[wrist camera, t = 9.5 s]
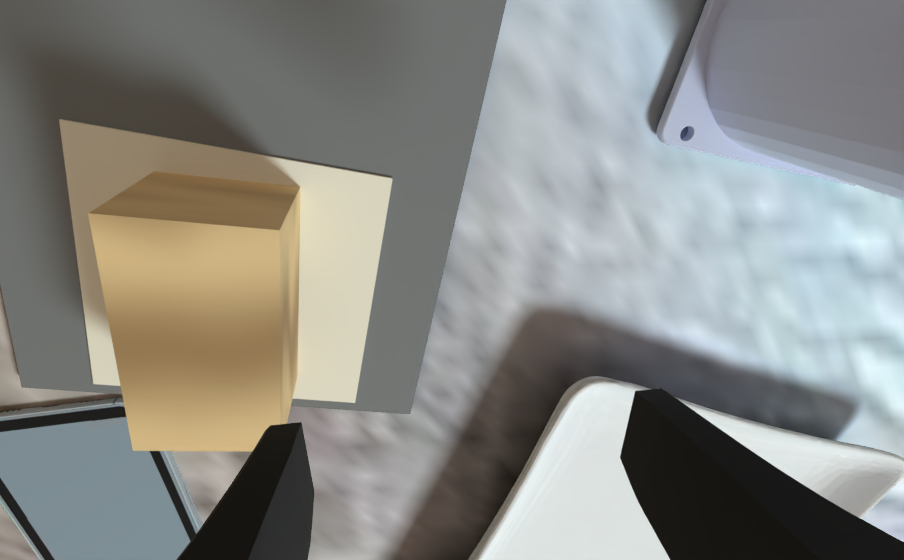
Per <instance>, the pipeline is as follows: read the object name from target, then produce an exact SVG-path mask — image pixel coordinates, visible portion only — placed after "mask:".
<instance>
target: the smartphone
mask: <svg viewBox="0 0 904 560" xmlns="http://www.w3.org/2000/svg"><path fill="white" fill-rule="evenodd" d="M0 503H1V505H2V506H3V508H4V509H5V511H6V512H7V513H8V515H9V516H10V518H11V519H12V521H13V522H14V524H15V525H16V526H17V528H18V529H19V531H20V532H21V534H22V535H23V536H24V538H25V539H26V541H27V542H28V544H29V545H30V546H31V548H32V549H33V551H34V552H35V554H36V555H37V557H38V558H39V559H40V560H177V558H178V557H179V556H180V554H181V553H182V552H183V551H184V549H185V548H186V547H187V545H188V544H189V543H190V541H191V540H192V539H193V537H194V536H195V535H196V534H197V532H198V531H199V530H200V528H201V527H202V525H203V523H202V521H201V519H200V516H199V514H198V512H197V509H196V507H195V505H194V503H193V500H192V498H191V496H190V493H189V491H188V489H187V487H186V484H185V482H184V480H183V478H182V475H181V473H180V471H179V468H178V466H177V464H176V462H175V459H174V457H173V455H172V452H171V451H133V449H132V444H131V439H130V433H129V428H128V423H127V417H126V412H125V407H124V401H123V397H118V398H110V399H101V400H99V401H97V400H94V401H93V402H92V401H88V402H86V401H85V402H82V403H80V402H76V403H68V404H60V405H58V406H52V407H44V408H42V407H36V408H26V409H21V410H18V409H17V410H15V411H12V410H10V411H8V412H7V411H3V412H2V413H1V412H0Z"/></svg>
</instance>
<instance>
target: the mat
mask: <svg viewBox="0 0 904 560" xmlns="http://www.w3.org/2000/svg"><path fill="white" fill-rule="evenodd" d="M505 4H506V0H0V286H1V291H2V296H3V300H4V305H5V310H6V315H7V319H8V324H9V329H10V334H11V338H12V343H13V348H14V353H15V358H16V362H17V367H18V372H19V377H20V381H21V386H22V387H25V388H39V389H54V390H68V391H82V392H97V393H111V394H122V391H121V386H120V380H119V375H118V370H117V364H116V359H115V354H114V348H113V343H112V338H111V332H110V327H109V322H108V317H107V311H106V306H105V301H104V295H103V290H102V285H101V279H100V274H99V269H98V263H97V258H96V253H95V248H94V242H93V237H92V232H91V226H90V221H89V216H88V213H89V212H91V211H92V210H94V209H96V208H97V207H99V206H100V205H102V204H103V203H105V202H107V201H108V200H110V199H111V198H113V197H114V196H116V195H118V194H119V193H121V192H122V191H124V190H125V189H127V188H129V187H130V186H132V185H133V184H135V183H136V182H138V181H140V180H141V179H143V178H144V177H146V176H147V175H149V174H151V173H152V172H154V171H156V172H165V173H175V174H184V175H193V176H203V177H212V178H221V179H231V180H240V181H250V182H259V183H268V184H278V185H287V186H297V187H300V250H299V315H298V377H297V381H296V385H295V390H294V394H293V399H292V403H291V406H299V407H314V408H328V409H343V410H357V411H372V412H386V413H401V414H410V412H411V408H412V403H413V399H414V395H415V391H416V386H417V382H418V378H419V373H420V369H421V365H422V361H423V356H424V352H425V348H426V343H427V339H428V335H429V331H430V326H431V322H432V318H433V313H434V309H435V305H436V301H437V296H438V292H439V288H440V283H441V279H442V275H443V270H444V266H445V262H446V258H447V253H448V249H449V245H450V240H451V236H452V232H453V228H454V223H455V219H456V215H457V210H458V206H459V202H460V198H461V193H462V189H463V185H464V180H465V176H466V172H467V168H468V163H469V159H470V155H471V150H472V146H473V142H474V137H475V133H476V129H477V125H478V120H479V116H480V112H481V107H482V103H483V99H484V95H485V90H486V86H487V82H488V77H489V73H490V69H491V65H492V60H493V56H494V52H495V47H496V43H497V39H498V35H499V30H500V26H501V22H502V17H503V13H504V9H505Z"/></svg>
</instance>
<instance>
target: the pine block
mask: <svg viewBox="0 0 904 560" xmlns="http://www.w3.org/2000/svg"><path fill="white" fill-rule="evenodd" d="M88 216H89V221H90V226H91V232H92V237H93V242H94V248H95V253H96V258H97V263H98V269H99V274H100V279H101V285H102V290H103V295H104V301H105V306H106V311H107V317H108V322H109V327H110V332H111V338H112V343H113V348H114V354H115V359H116V364H117V370H118V375H119V380H120V386H121V391H122V396H123V401H124V407H125V412H126V417H127V423H128V428H129V433H130V439H131V444H132V449H133V451H253V450H254V448H255V447H256V445H257V443H258V442H259V440H260V438H261V437H262V435H263V433H264V432H265V430H266V429H267V428H268V427H269V426H270V425H279V424H287V421H288V416H289V412H290V407H291V403H292V399H293V394H294V390H295V385H296V381H297V377H298V315H299V250H300V187H297V186H287V185H278V184H268V183H259V182H250V181H240V180H231V179H221V178H212V177H203V176H193V175H184V174H175V173H165V172H156V171H154V172H152V173H151V174H149V175H147V176H146V177H144V178H143V179H141V180H140V181H138V182H136V183H135V184H133V185H132V186H130V187H129V188H127V189H125V190H124V191H122V192H121V193H119V194H118V195H116V196H114V197H113V198H111V199H110V200H108V201H107V202H105V203H103V204H102V205H100V206H99V207H97V208H96V209H94V210H92V211H91V212H89V213H88Z"/></svg>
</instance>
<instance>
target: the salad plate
mask: <svg viewBox="0 0 904 560" xmlns="http://www.w3.org/2000/svg"><path fill="white" fill-rule="evenodd" d="M640 390H650V388H646V387H643V386H640V385H637V384H633V383H628V382H623V381H619V380H614V379H611V378H606V377H601V376H592V377H586V378H583V379H581V380H579V381H578V382H576V383H574V384H573V385H572V386H570V387H569V388H568V389H567V390H566V392H565V393H564V394H563V396H562V397H561V399H560V401H559V403H558V404H557V406H556V408H555V410H554V412H553V414H552V416H551V417H550V419H549V421H548V423H547V425H546V427H545V429H544V431H543V433H542V435H541V436H540V438H539V440H538V442H537V444H536V446H535V448H534V450H533V451H532V453H531V455H530V457H529V459H528V461H527V463H526V464H525V466H524V468H523V470H522V472H521V474H520V475H519V477H518V479H517V481H516V482H515V484H514V486H513V487H512V489H511V491H510V493H509V494H508V496H507V498H506V500H505V501H504V503H503V505H502V506H501V508H500V509H499V511H498V513H497V514H496V516H495V518H494V519H493V521H492V523H491V524H490V526H489V527H488V529H487V531H486V532H485V534H484V535H483V537H482V539H481V540H480V542H479V543H478V545H477V546H476V548H475V549H474V551H473V553H472V554H471V556H470V557H469V559H468V560H670V558H669V557H668V555H667V553H666V551H665V550H664V548H663V546H662V544H661V542H660V541H659V539H658V537H657V535H656V534H655V532H654V530H653V528H652V526H651V524H650V523H649V521H648V519H647V517H646V515H645V514H644V512H643V510H642V508H641V506H640V504H639V503H638V500H637V498H636V496H635V493H634V491H633V489H632V486H631V484H630V482H629V479H628V477H627V474H626V472H625V469H624V467H623V464H622V461H621V459H620V455H621V450H622V446H623V442H624V437H625V433H626V429H627V424H628V420H629V416H630V411H631V407H632V403H633V398H634V394H635V391H640ZM673 397H674V396H673ZM675 398H676V399H678V400H679V401H681V402H682V403H684V404H685V405H686V406H688V407H689V408H691V409H692V410H694V411H695V412H696V413H698V414H699V415H701V416H702V417H704V418H705V419H706V420H708V421H709V422H711V423H712V424H713V425H715V426H716V427H718V428H719V429H721V430H722V431H723V432H725V433H726V434H728V435H729V436H731V437H732V438H733V439H735V440H736V441H738V442H739V443H741V444H742V445H744V446H745V447H747V448H748V449H749V450H751V451H752V452H754V453H755V454H757V455H758V456H760V457H761V458H763V459H764V460H766V461H767V462H769V463H770V464H772V465H773V466H775V467H776V468H778V469H779V470H781V471H782V472H784V473H786V474H787V475H789V476H790V477H792V478H793V479H795V480H797V481H798V482H800V483H801V484H803V485H805V486H806V487H808V488H809V489H811V490H813V491H814V492H816V493H817V494H819V495H821V496H822V497H824V498H826V499H827V500H829V501H831V502H832V503H834V504H836V505H837V506H839V507H841V508H842V509H844V510H846V511H848V512H850V513H851V514H853V515H855V516H857V517H858V518H860V519H861V518H863V517H864V516H865V515H866V514H867V513H868V512H869V511H870V510H871V509H872V508H873V507H874V506H875V505H876V504H877V503H878V502H879V501H880V500H881V499H882V498H883V497H884V496H885V495H886V494H887V493H888V492H889V491H890V490H891V489H892V488H893V487H894V486H895V485H896V484H897V483H898V482H899V481H900V480H901V479H902V477H903V476H904V459H903V458H901V457H900V456H898V455H895V454H892V453H889V452H886V451H882V450H878V449H874V448H870V447H866V446H861V445H855V444H850V443H845V442H839V441H834V440H829V439H824V438H820V437H815V436H811V435H807V434H803V433H799V432H795V431H791V430H786V429H782V428H778V427H774V426H770V425H766V424H763V423H759V422H755V421H751V420H747V419H744V418H740V417H737V416H733V415H730V414H726V413H723V412H720V411H716V410H713V409H710V408H706V407H703V406H700V405H697V404H694V403H691V402H688V401H685V400H682V399H680V398H677V397H675Z"/></svg>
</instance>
